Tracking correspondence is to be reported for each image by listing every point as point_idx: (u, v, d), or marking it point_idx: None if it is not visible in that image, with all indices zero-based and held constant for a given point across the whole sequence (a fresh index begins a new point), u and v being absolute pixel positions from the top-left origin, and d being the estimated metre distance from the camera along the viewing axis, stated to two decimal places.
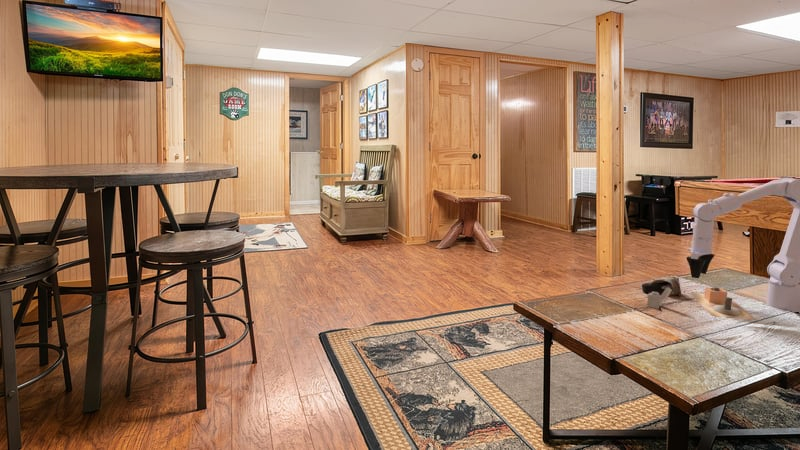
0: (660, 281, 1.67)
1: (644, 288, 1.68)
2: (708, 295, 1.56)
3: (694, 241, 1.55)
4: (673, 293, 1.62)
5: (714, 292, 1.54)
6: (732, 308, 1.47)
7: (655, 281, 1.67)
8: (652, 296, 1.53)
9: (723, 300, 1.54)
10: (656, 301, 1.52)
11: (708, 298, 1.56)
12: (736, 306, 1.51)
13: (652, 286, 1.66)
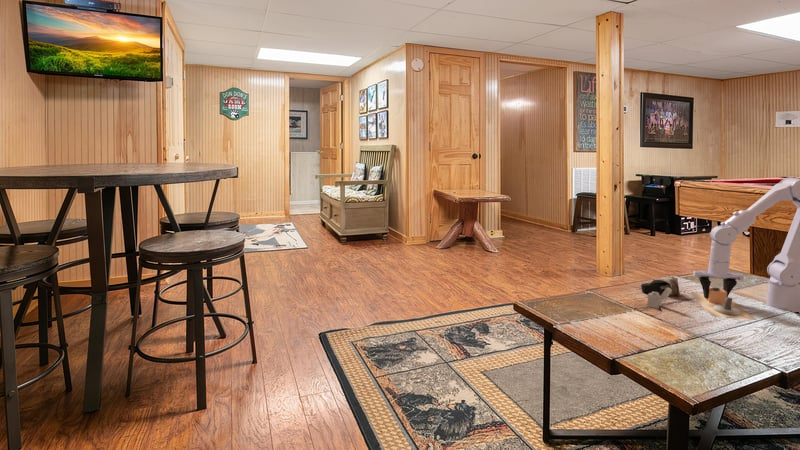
0: (659, 281, 1.67)
1: (643, 288, 1.69)
2: None
3: None
4: (672, 293, 1.62)
5: (714, 292, 1.54)
6: (732, 308, 1.47)
7: (654, 281, 1.67)
8: (652, 296, 1.53)
9: (723, 300, 1.54)
10: (656, 301, 1.52)
11: (708, 298, 1.56)
12: (736, 306, 1.51)
13: (651, 286, 1.66)
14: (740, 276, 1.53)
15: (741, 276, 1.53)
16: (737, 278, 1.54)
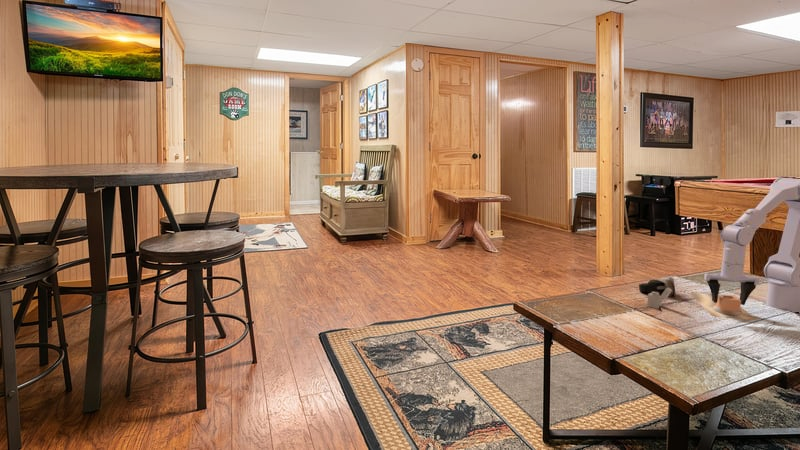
0: (656, 281, 1.66)
1: (640, 288, 1.69)
2: (720, 303, 1.46)
3: None
4: None
5: (727, 300, 1.44)
6: None
7: (651, 281, 1.67)
8: (652, 296, 1.53)
9: (737, 309, 1.44)
10: (656, 301, 1.52)
11: (720, 306, 1.46)
12: None
13: (647, 286, 1.66)
14: (755, 279, 1.42)
15: (756, 279, 1.42)
16: (752, 281, 1.43)
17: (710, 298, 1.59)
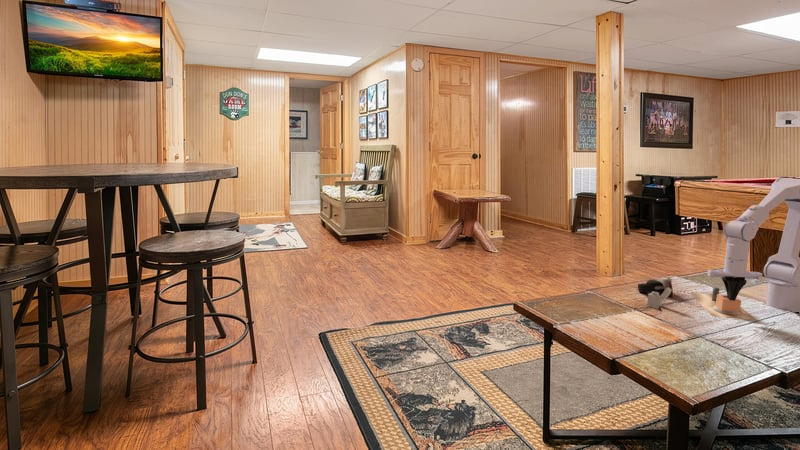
0: (655, 281, 1.66)
1: (639, 287, 1.69)
2: (720, 303, 1.46)
3: None
4: None
5: (727, 300, 1.44)
6: None
7: (649, 281, 1.67)
8: (652, 296, 1.53)
9: (737, 309, 1.44)
10: (656, 301, 1.52)
11: (720, 306, 1.46)
12: None
13: (645, 286, 1.66)
14: (759, 275, 1.40)
15: (760, 275, 1.40)
16: (755, 277, 1.41)
17: (710, 298, 1.59)
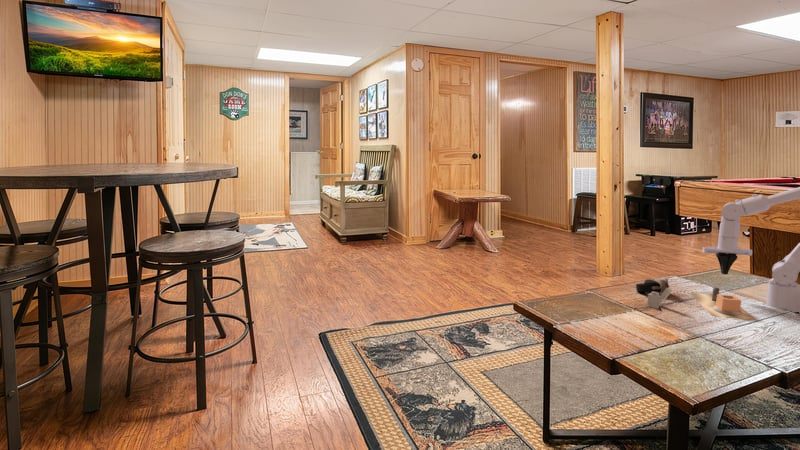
0: (653, 281, 1.66)
1: (636, 287, 1.70)
2: (720, 303, 1.46)
3: None
4: None
5: (727, 300, 1.44)
6: None
7: (647, 281, 1.67)
8: (652, 296, 1.53)
9: (737, 309, 1.44)
10: (656, 301, 1.52)
11: (720, 306, 1.46)
12: None
13: (642, 285, 1.66)
14: (749, 251, 1.56)
15: (750, 251, 1.56)
16: (746, 253, 1.57)
17: (710, 298, 1.59)
